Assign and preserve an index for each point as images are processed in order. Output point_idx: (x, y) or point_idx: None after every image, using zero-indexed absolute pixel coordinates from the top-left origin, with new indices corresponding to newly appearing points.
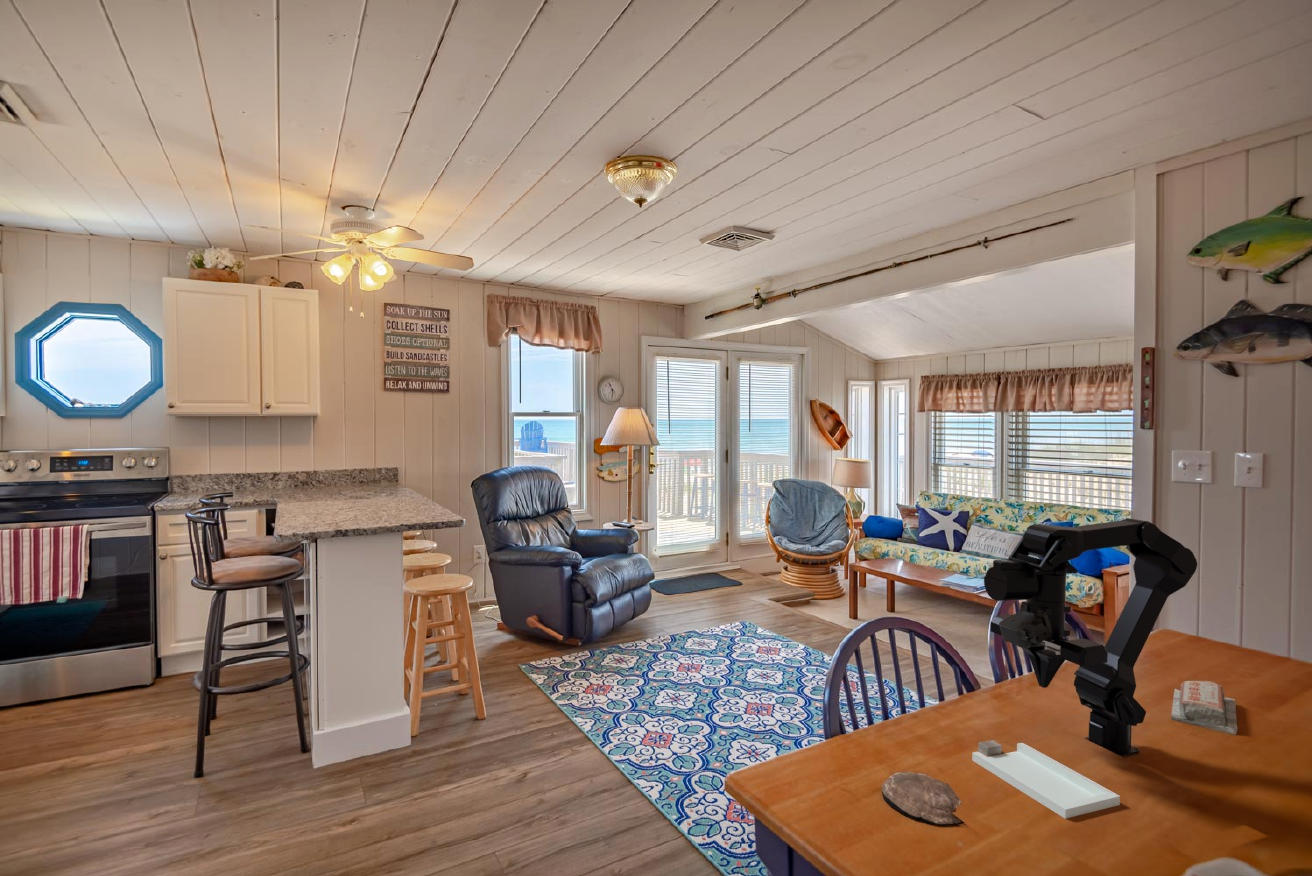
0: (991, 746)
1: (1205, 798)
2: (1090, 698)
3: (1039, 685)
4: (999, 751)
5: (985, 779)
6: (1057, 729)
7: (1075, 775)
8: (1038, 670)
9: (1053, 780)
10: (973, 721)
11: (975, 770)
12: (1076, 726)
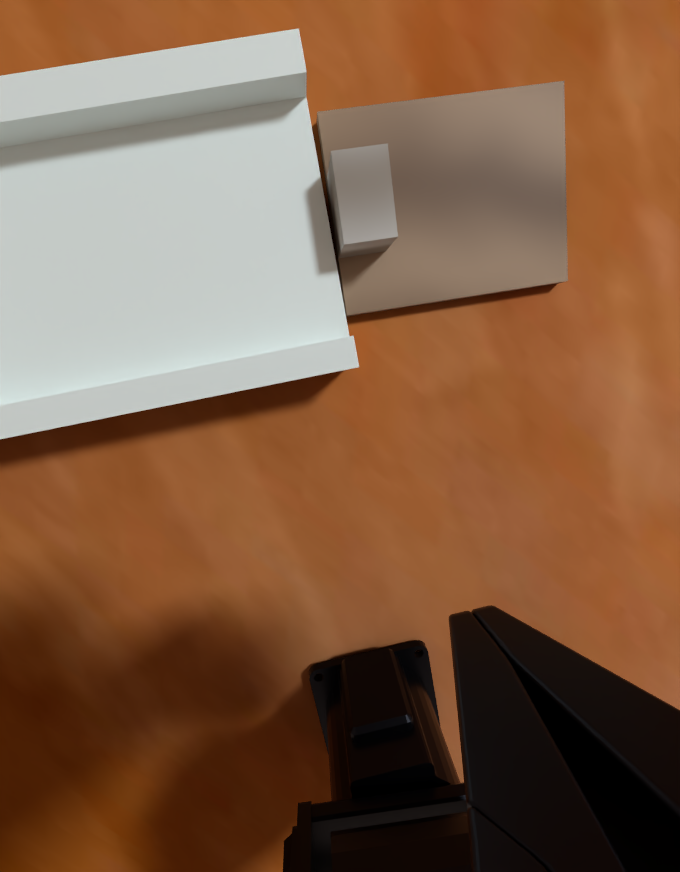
0: (342, 184)
1: (81, 748)
2: (422, 840)
3: (489, 607)
4: (339, 238)
5: None
6: None
7: (70, 394)
8: (598, 740)
9: (114, 320)
10: (634, 372)
11: None
12: None
